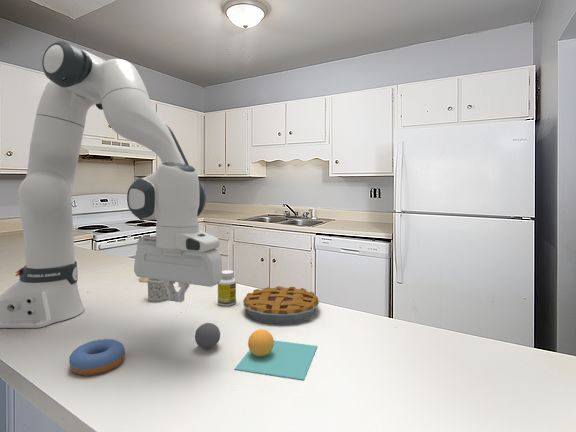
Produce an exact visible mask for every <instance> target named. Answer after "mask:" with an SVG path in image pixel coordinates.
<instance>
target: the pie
mask: <svg viewBox="0 0 576 432" xmlns="http://www.w3.org/2000/svg"><path fill="white" fill-rule="evenodd" d="M242 304H243V305H242V306H243V307H244V308H245V309H246V311H247V313H248V315H249V317H251V318H252V319H253V320H257V321H259V322H263V323H268V324H269V323H272V324H291V323H292V324H293V323H295V324H296V323H299V322H303V321H307V320H308V319H309V318H311V317H312V315H314V312H315V310H316V309H318V307H319V304H320V300H319V298H318V296H317V295H315V293H314V292H313V291H307V289H305V288H303V287H301V288H296V287H295V286H290V287H284V286H276V287H269V286H267V287H264V288H263V289H259V288H257V289H254V290H253V292H248V293H246V295H245V296H244V299H243V301H242Z"/></svg>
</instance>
